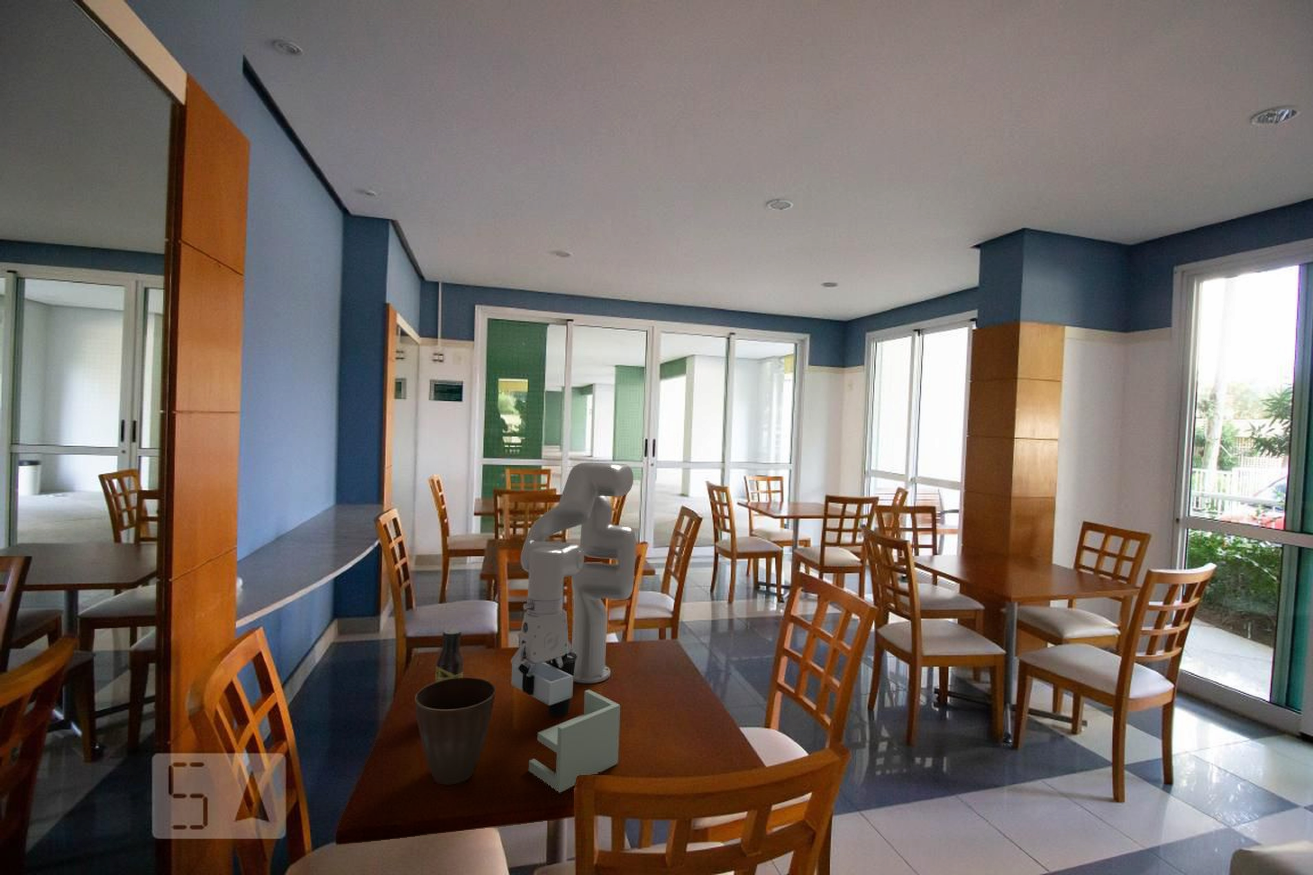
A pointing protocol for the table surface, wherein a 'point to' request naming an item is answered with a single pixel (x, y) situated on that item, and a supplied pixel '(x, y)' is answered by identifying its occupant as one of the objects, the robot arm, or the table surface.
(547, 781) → the shelf slot
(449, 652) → the sauce bottle
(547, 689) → the tray
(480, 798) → the table surface
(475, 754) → the plant pot
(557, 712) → the drinking cup
